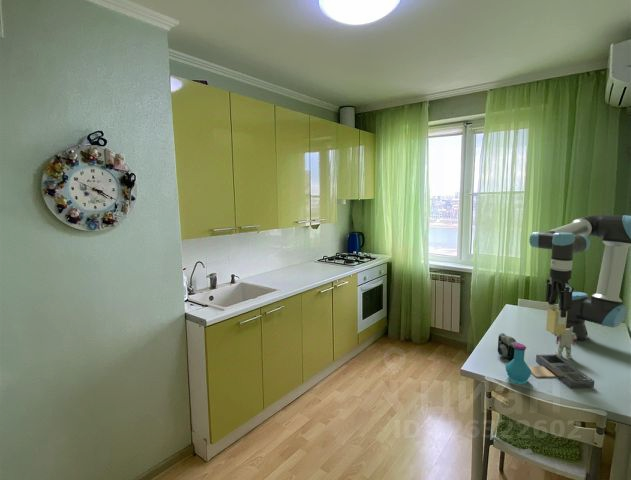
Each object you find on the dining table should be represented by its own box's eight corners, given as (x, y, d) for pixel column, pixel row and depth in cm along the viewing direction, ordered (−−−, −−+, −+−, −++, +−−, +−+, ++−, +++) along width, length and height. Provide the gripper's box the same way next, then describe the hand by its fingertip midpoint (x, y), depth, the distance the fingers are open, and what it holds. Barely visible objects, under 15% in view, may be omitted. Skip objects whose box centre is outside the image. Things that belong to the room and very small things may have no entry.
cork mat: (543, 367, 152) (543, 366, 152) (555, 377, 144) (555, 376, 144) (524, 367, 152) (525, 366, 152) (536, 377, 144) (536, 376, 144)
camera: (490, 349, 170) (491, 330, 169) (503, 349, 170) (505, 329, 169) (507, 364, 156) (509, 343, 154) (522, 364, 156) (524, 342, 154)
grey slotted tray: (555, 360, 158) (556, 354, 158) (593, 388, 136) (594, 380, 136) (535, 360, 158) (536, 354, 158) (570, 388, 136) (571, 381, 136)
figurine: (578, 358, 160) (581, 327, 157) (568, 362, 156) (571, 330, 154) (560, 351, 167) (562, 321, 165) (550, 354, 163) (552, 324, 161)
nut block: (557, 329, 154) (559, 307, 152) (565, 334, 149) (567, 311, 147) (545, 329, 154) (547, 307, 152) (553, 334, 149) (555, 311, 147)
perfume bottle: (500, 374, 148) (502, 340, 145) (520, 373, 148) (523, 339, 146) (514, 386, 138) (516, 351, 136) (535, 385, 139) (538, 349, 137)
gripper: (538, 264, 156) (534, 314, 160) (567, 274, 138) (562, 329, 142) (555, 264, 156) (551, 313, 160) (586, 274, 138) (580, 329, 142)
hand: (556, 321), depth 151 cm, fingers closed on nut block, 5 cm apart
